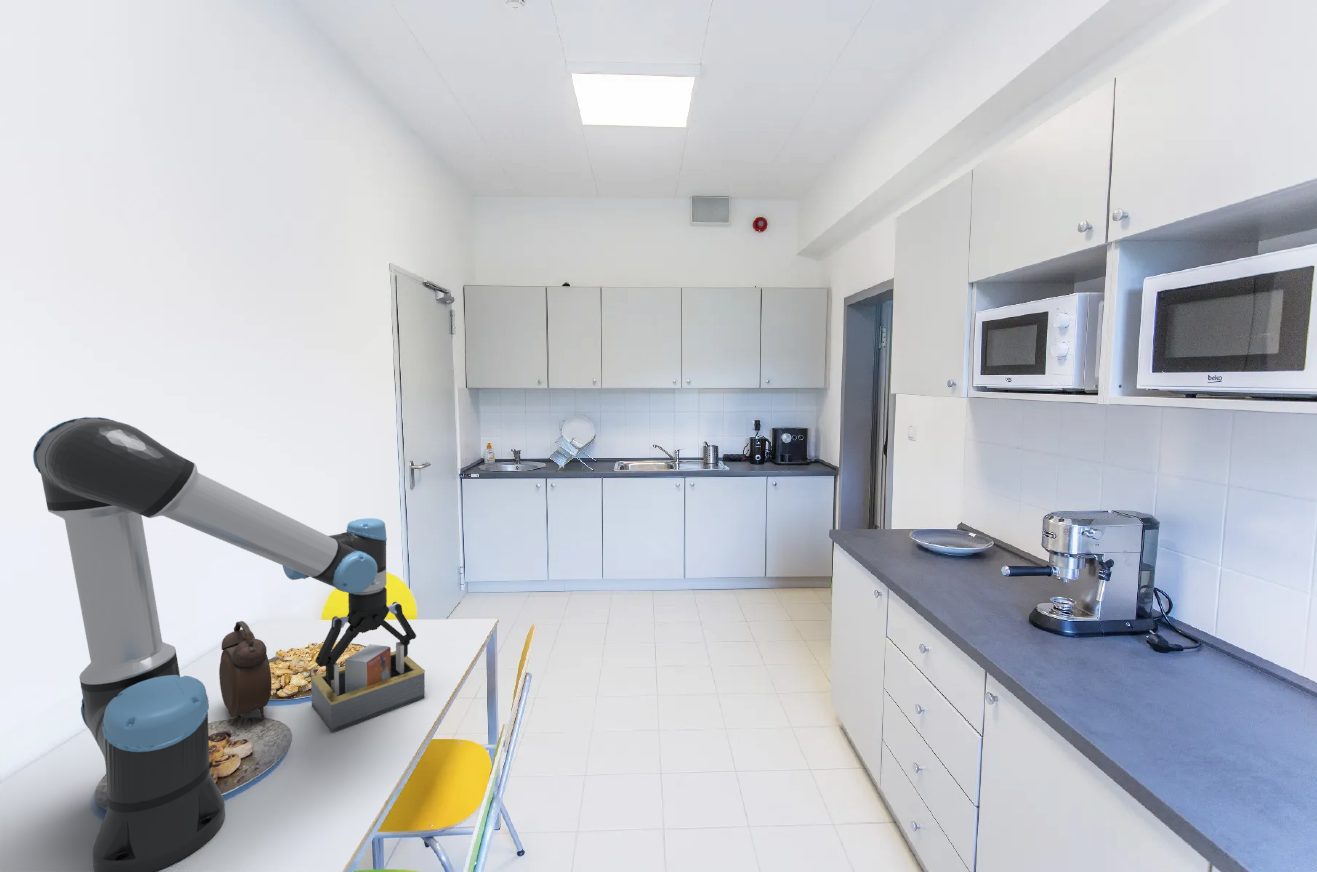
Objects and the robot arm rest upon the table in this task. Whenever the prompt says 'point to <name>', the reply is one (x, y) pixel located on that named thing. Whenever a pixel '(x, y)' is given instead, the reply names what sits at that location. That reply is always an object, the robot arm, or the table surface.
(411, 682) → the box
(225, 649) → the alarm clock
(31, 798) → the table surface
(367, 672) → the small box
